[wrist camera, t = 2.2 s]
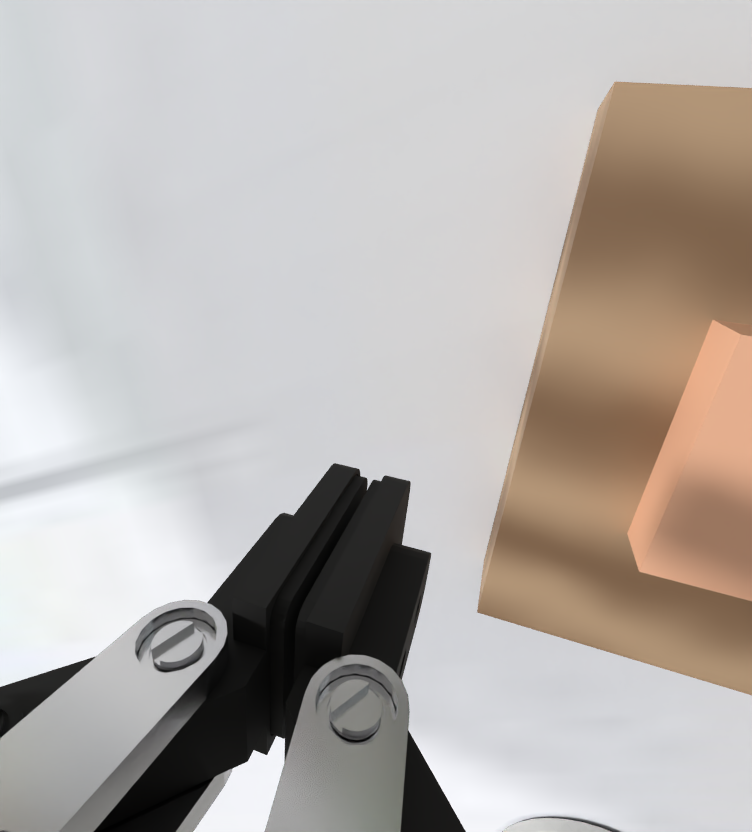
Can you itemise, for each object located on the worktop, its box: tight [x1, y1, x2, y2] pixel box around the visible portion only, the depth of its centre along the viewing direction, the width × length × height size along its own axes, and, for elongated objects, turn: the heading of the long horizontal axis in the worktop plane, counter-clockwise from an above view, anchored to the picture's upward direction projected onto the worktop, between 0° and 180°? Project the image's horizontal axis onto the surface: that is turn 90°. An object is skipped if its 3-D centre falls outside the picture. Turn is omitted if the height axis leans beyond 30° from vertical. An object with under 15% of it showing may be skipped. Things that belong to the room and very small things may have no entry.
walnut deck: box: [477, 82, 752, 695], centre depth 19 cm, size 22×14×4 cm, turn 174°
